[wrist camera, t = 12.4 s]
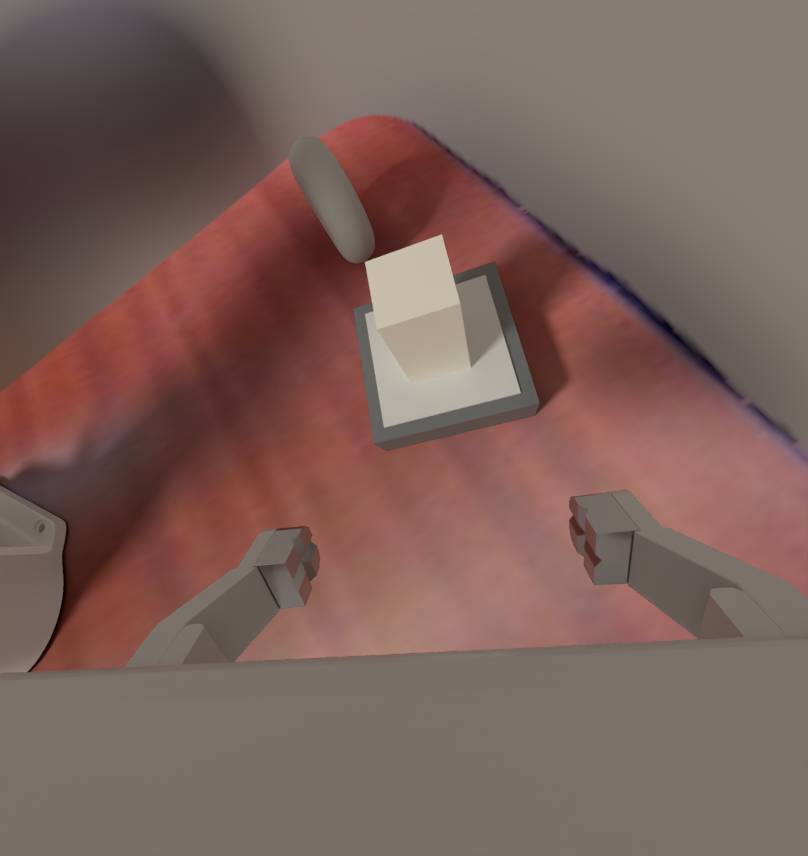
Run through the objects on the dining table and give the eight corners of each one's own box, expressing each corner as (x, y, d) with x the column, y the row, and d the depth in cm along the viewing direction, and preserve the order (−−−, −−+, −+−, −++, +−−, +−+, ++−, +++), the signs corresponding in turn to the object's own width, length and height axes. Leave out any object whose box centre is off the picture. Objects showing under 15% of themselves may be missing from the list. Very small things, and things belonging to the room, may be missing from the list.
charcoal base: (386, 450, 28) (373, 443, 25) (365, 326, 32) (352, 307, 29) (534, 415, 26) (540, 402, 23) (495, 285, 29) (495, 260, 26)
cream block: (411, 384, 26) (376, 329, 18) (401, 332, 27) (364, 262, 19) (471, 368, 25) (460, 303, 17) (457, 315, 26) (441, 234, 18)
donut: (394, 270, 32) (353, 171, 23) (364, 291, 33) (311, 201, 23) (349, 209, 36) (297, 99, 26) (322, 228, 36) (262, 127, 27)
